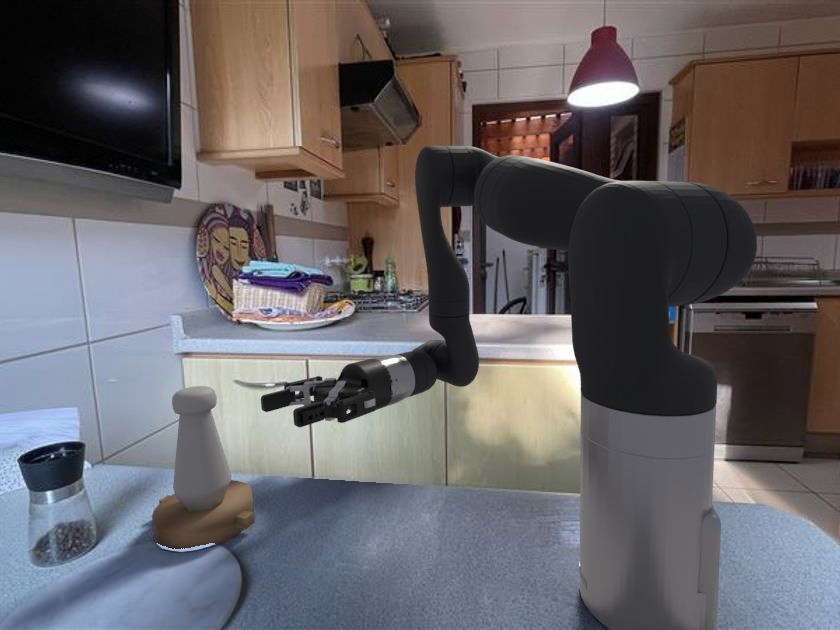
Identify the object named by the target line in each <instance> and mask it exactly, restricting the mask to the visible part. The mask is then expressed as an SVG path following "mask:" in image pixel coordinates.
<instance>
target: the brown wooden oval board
mask: <svg viewBox="0 0 840 630" xmlns="http://www.w3.org/2000/svg"><path fill="white" fill-rule="evenodd" d="M254 511H255V509H254V499H253V489H252V488H251V486H250V485H249V484H247V483H245V482H244V481H239V480H233V479H231V482H230V484H229V486H228V488H227V491H226V494H225V497H224V500H223V502H222V503H220V504H218V505H216V506H214V507H213V508H211V509H209V510H205V511H195V512H189V511H188V510H187V509H186V508H185V507H184V505H183V504H182V503H181V502H180V501H179V499H178V498H177V497H176V496H175V493H173V494H171V495H166V496H164V497H162V498H161V499H159V500H158V505H157V506H156V507H155V508H154V510H153V512H152V516H151V520H152V527H153V537H154V543H155V542H156V543H158V544H160V545H162V546H166V547H168V548H172V549H174V548H175V549H181V548H182V549H183V548H184V549H185V548H191V547H195V546H200V545H206V544H209V543H215V544H217V545H220V544H222V543H225V542H227V541H228V540H230V539H232V538H234V537H235V536H237V535H238V534H240V533H241V532H243V530H248V529H249V528H250V527H252V526H253V525H254V524H255V521H256V520H255V512H254ZM156 543H155V544H156Z"/></svg>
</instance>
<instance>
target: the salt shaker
mask: <svg viewBox="0 0 840 630" xmlns="http://www.w3.org/2000/svg"><path fill="white" fill-rule="evenodd" d="M217 398H218V397H217V394H216V391H215V390H214V388H213V387H211V386H205V385H201V386H200V385H195V386H189V387H185V388H183V389H179V390H178V391H176V392H175V393H174V394H173V395H172V400H171V405H172V410H173V412H174V413H175V414H176V415H179V419H178V427H177V439H176V451H175V452H176V453H175V463H174V473H173V481H172V484H173V485H172V487H173V493H174V494H175V496H176V497H177V498H178V499H179V501H180V502H181V503H182V504H183V505H184V507H185V508H186V509H187V510H188V511H189V512H195V511H205V510H209V509H211V508H213V507H214V506H216V505H218V504H220V503H222V502H223V500H224V497H225V494H226V491H227V488H228V486H229V484H230V482H231V480H232V473H231V470H230V467H229V464H228V460H227V458H226V454H225V452H224V451H225V450H224V448H223V446H222V445H223V444H222V442H221V438H220V436H219V435H220V434H219V432H218V428H217V424H216V422H215V419H214V416H213V412H212V409H214V408H215V407H216V406H217V403H218V401H217Z"/></svg>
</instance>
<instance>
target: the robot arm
mask: <svg viewBox="0 0 840 630" xmlns="http://www.w3.org/2000/svg"><path fill="white" fill-rule="evenodd" d="M415 161H416V162H415V171H414V183H415V184H414V185H415V194H416V202H417V210H418V217H419V224H420V231H421V237H422V238H421V239H422V244H423V251H424V256H425V257H424V258H425V265H426V273H427V285H428V286H427V287H428V288H427V289H428V291H427V292H428V324H429V326H430V328H431V329H432V330H433V331H435V332H436V333H438V334H439V335H440V336H442V338H443V339H444V340H442V339H433V340H429V341H425V342H424V343H423V344H420V345H419V346H417V347H415V348H414V349H413V350H410V351H406V352H401V353H398V354H391V355H382V356H378V357H377V356H376V357H374V358H368V359H365V360H360V361H356V362H351V363H348V364H347V365H345V366H344V367H343V368H342V370H341V371H340V374H339V376H338V378H336V377H329V378H325V379H323V377H322V376H320V375H317V376H313V377H310V378H309V377H308V378H304V379H300V380H296V381H291V382H286V383H284V384H283V389H282V390H277V391H274V392H270V393H266V394H263V395H261V397H260V406H261V408H260V409H261V410H262V411H263V412H265V413H269V412H273V411H275V410H276V411H277V410H280V409H284V408H286V407H292V406H299V407H297V408H296V407H295V408H294V410H293V412H292V415H293V417H292V418H293V425H294V426H295V427H298V428H302V427H306V426H309V425H312V424H316V423H318V422H322V421H324V420H325V421H326V422H331V421H334V420H335V419H337V423H339V424H345V423H347V422H349V421H352V420H354V419H357V418H360V417H362V416H365V415H368V414H370V413H373V412H376V411H377V410H380V409H383V408H386V407H390V406H392V405H395V404H398V403H399V402H401V401H403V400H405V399H408V398H410V397H413V396H417V395H419V394H422V393H425V392H427V391H428V390H430V389H431V388H433V386H434V385H435V384H436V382H437V380H439V381H441V382H444V383H447V384H449V385H452V386H453V387H454V386H455V387H459V388H464V387H466V386H469V385H471V384H472V383H473V381H475V378H476V377H477V375H478V372H479V369H480V368H479V367H480V357H479V350H478V346H477V343H476V340H475V337H474V336H475V335H474V332H473V331H474V330H473V327H472V323H471V321H470V311H471V310H470V306H471V304H470V303H471V301H470V299H471V297H470V296H471V295H470V293H471V292H470V290H471V289H470V281H469V277H468V275H467V271H466V269H465V267H464V266H463V264H462V262H461V261H460V258H459V257H458V256H457V253H456V252H455V251H454V249H453V247H452V245H451V243H450V242H449V240H448V237H447V236H446V233H445V229H444V227H443V222H442V214H441V208H451V207H452V208H455V207H457V208H458V207H474V206H475V211H476V214H477V216H478V217H479V218H480V220H481V222H483V223H484V224H485V225H486V226H487V227H488V228H489V229H491V230H493V231H494V232H497V234H500V235H503V236H504V237H505V238H507V239H510V240H512V241H515V242H517V243H520V244H524V245H527V246H531V247H532V246H533V247H539V248H543V249H550V250H556V251H562V252H568V257H567V258H568V259H567V260H568V283H569V297H570V298H569V299H570V316H571V321H570V322H571V339H572V340H571V343H572V350H573V354H574V358H575V361H576V364H577V369H578V372H579V376H580V377H579V379H580V448H579V449H580V451H579V452H580V455H579V457H580V461H579V462H580V465H579V466H580V469H579V471H580V472H579V475H580V477H579V481H580V482H579V560H578V561H579V562H578V570H579V571H578V572H579V592H580V596H581V599H582V601H583V603H584V605H585V606H586V608H587V609H588V611H589V612H590V613H591V615H592V616H593V617H594V618H595V619H597V621H598V622H600V624H601V625H603V626H604V627H606V628H607V629H608V630H717V626H718V603H719V581H720V580H719V579H720V578H719V577H720V559H721V558H720V556H721V537H722V535H721V534H722V522H721V517H720V516H719V514H718V513H717V511H716V509H715V506H714V505H713V493H714V491H713V490H714V489H713V488H714V468H715V467H714V466H715V445H716V444H715V442H716V441H715V440H716V418H717V417H716V416H717V401H718V400H717V399H718V398H717V397H718V376H717V371H716V369H715V368H714V366H713V365H712V364H711V363H710V362H709V361H707V360H706V359H704V358H702V357H698V356H696V355H693V354H690V353H686V352H683V351H682V350H681V349H679V348H678V347H677V346H676V345H675V344H674V342H673V339H672V334H671V327H670V326H671V325H670V309H669V308H671V307H672V308H673V307H680V306H688V305H689V306H690V305H695V304H698V303H701V302H706V301H709V300H711V299H714V298H716V297H718V296H721V295H723V294H726V293H727V292H729V291H730V290H732V289H733V288H734V287H736V286H737V285H738V284H739V283H740V282H741V281H742V280H743V279H744V277H746V276H747V274H748V273H749V271H750V270H751V268H752V266H753V264H754V261H756V260H755V259H756V256H757V251H758V250H757V249H758V245H757V243H758V240H757V234H756V230H755V229H756V228H755V226H754V222H753V221H752V220H751V218H750V215H749V214H748V212H747V211H746V210H745V208H744V207H743V205H741V203H739V201H737V199H735V198H734V197H732V196H731V195H730V194H729V193H727V192H726V191H723V190H722V189H719V188H717V187H716V186H712V185H708V184H705V183H701V182H691V181H663V180H662V181H660V180H658V181H655V180H650V181H649V180H618V179H612V178H609V177H605V176H602V175H598V174H595V173H593V172H589V171H586V170H582V169H579V168H576V167H572V166H568V165H565V164H561V163H557V162H553V161H550V160H544V159H541V158H535V157H529V156H523V155H504V156H503V155H502V156H500V157H499V156H496V155H494V154H492V153H490V152H488V151H487V150H486V151H485V150H484V149H482V148H479V147H476V146H471V145H426V146H424V147H423V148H422V149H421V150H420V151H419V153H418V155H417V157H416V160H415ZM296 392H298V393H297V394H296ZM311 397H313V400H312V399H311ZM301 405H303V406H301ZM348 411H350V412H348Z"/></svg>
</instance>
